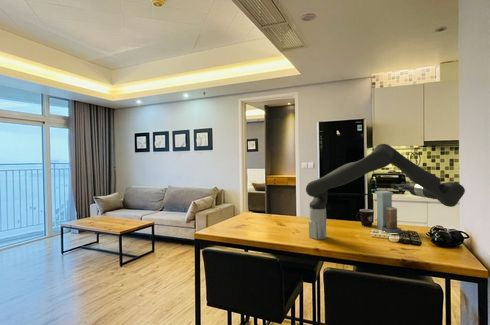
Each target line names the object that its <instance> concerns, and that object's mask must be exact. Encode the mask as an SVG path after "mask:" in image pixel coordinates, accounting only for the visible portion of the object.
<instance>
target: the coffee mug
mask: <svg viewBox="0 0 490 325" xmlns="http://www.w3.org/2000/svg"><path fill="white" fill-rule="evenodd" d="M374 214H375V210H374V209H368V208H363V209H359V212H357V213H356V214H355V218H356V220H358V221H360V224H361V226H362V227H365V228H366V227H367V228H370V227H371V228H372V227H373V223H374ZM358 215H359V218H360V219H359V218H358Z"/></svg>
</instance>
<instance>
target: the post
mask: <svg viewBox="0 0 490 325" xmlns="http://www.w3.org/2000/svg"><path fill="white" fill-rule="evenodd" d="M374 192H375V195H376V228H377V229H378V230H381V231H382V226H387V219H386V207H393V197H392V196H394V192H392V191H390V190H389V191H388V190H377V191H374Z"/></svg>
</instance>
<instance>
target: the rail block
mask: <svg viewBox="0 0 490 325" xmlns="http://www.w3.org/2000/svg"><path fill="white" fill-rule="evenodd" d="M386 219H387V228H389V229H397V227H398V209H397V208H396V207H393V206H392V207H386Z"/></svg>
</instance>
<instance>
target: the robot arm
mask: <svg viewBox="0 0 490 325" xmlns="http://www.w3.org/2000/svg"><path fill="white" fill-rule="evenodd" d="M389 165H392V166H394V167H396V168H397V169H398V170H400V171H401V172H402V173H403V174H404V175H405V176H406V177H407V178H408V179H409V180H410V181H411V182H406V183H400V184H398V183H397V184H396V183H391V185H390V186H391V188H392V190H395V191H399V192H402V191H403V192H404V191H405V192H409V193H410V194H411V195H412V196H416V197H421V198H424V199H425V198H426V199H427V198H428V199H432V200H437V202H439V203H440V204H442V205H443V206H446V207H448V208H451V207H452V208H454V207H455V206H457V204H458V203H459V202H460V200H461V198H462V197H463V196H464V194H465V193H466V189H465V187H464V186H463V185H461V184H460V183H458V182H453V181H448V182H447V181H445V182H442V180H441V178H440V177H438V176H436V175H435V174H433V173H432V172H429V171H428V170H426V169H424V168H422V167H421V166H419V165H418V164H416V163H414V162H413V161H411V160H410V159H408V158H407V157H406V156H404V155H403V154H402V153H400V152H399V151H397V149H395V148H394V147H392V146H391V145H390V144H387V143H380V144H377V145H376V146H375V147H374V148H373V150H372V152H371V153H369V154H368V155H366V156H365V157H363V158H361V159H359V160H357V161H353V162H348V163H345V164H343V165H341V166H339V167H337V168H336V169H334V170H332V171H331V172H329V173H327V174H326V175H324V176H322V177H320V178H317V179H315V180H312V181H310V182H308V183H307V185H306V188H305V192H306V194H307V195H308V196H310V197H311V198H313V199H312V200H311V201H310V202H309V220H308V236H309V238H311V239H314V240H325V239H327V231H328V230H327V205H328V204H327V203H328V190H329V189H333V188H337V187H342V186H344V185H346V184H349V183H351V182H353V181H355V180H357V179H359V178H361V177H363V176H364V175H365V176H366V174H369V173H371V172H375V171H377V170H378V171H379V170H380V169H383V168H386V167H387V166H389ZM441 182H442V183H441Z"/></svg>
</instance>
